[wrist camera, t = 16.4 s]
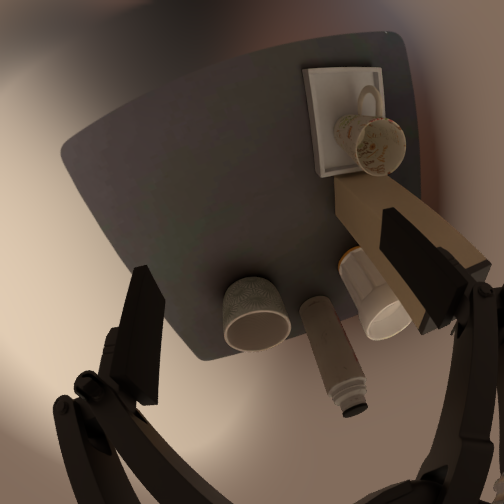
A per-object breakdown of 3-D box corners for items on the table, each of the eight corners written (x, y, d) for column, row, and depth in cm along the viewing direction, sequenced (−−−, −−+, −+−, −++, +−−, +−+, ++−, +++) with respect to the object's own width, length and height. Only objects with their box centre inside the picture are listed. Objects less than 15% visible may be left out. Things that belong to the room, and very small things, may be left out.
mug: (325, 155, 42) (352, 176, 34) (327, 79, 35) (359, 82, 26) (368, 156, 43) (401, 177, 35) (373, 86, 35) (411, 92, 27)
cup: (386, 252, 58) (428, 305, 44) (356, 287, 63) (388, 344, 49) (355, 232, 53) (400, 290, 39) (322, 272, 58) (354, 336, 44)
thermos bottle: (331, 292, 62) (380, 397, 39) (330, 314, 67) (371, 412, 44) (298, 300, 62) (338, 412, 39) (299, 322, 66) (334, 425, 44)
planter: (241, 260, 53) (249, 301, 44) (290, 283, 58) (304, 322, 50) (209, 301, 58) (211, 342, 49) (256, 319, 63) (264, 357, 55)
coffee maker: (301, 69, 34) (443, 75, 11) (372, 67, 34) (525, 96, 11) (318, 218, 50) (398, 345, 27) (377, 205, 50) (472, 310, 27)
